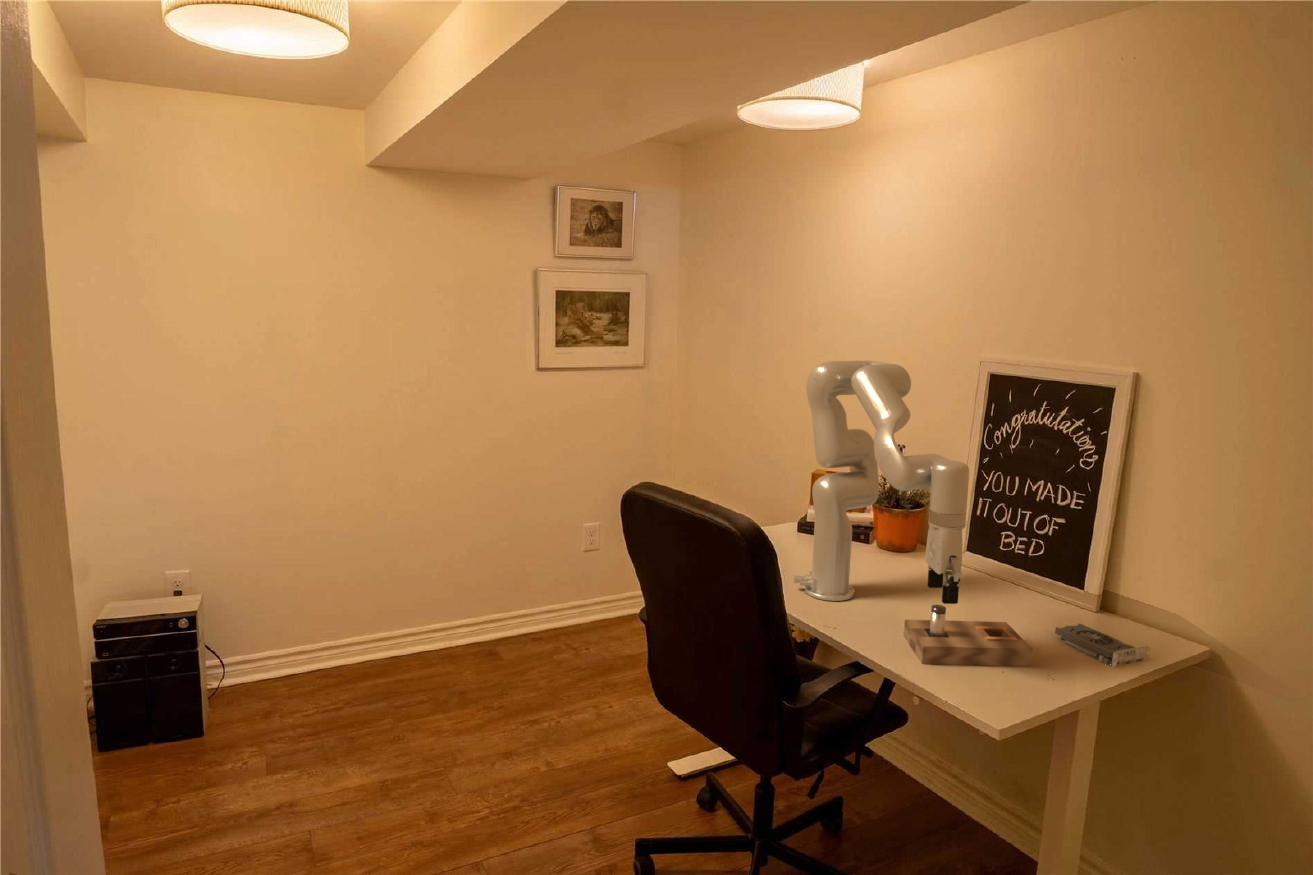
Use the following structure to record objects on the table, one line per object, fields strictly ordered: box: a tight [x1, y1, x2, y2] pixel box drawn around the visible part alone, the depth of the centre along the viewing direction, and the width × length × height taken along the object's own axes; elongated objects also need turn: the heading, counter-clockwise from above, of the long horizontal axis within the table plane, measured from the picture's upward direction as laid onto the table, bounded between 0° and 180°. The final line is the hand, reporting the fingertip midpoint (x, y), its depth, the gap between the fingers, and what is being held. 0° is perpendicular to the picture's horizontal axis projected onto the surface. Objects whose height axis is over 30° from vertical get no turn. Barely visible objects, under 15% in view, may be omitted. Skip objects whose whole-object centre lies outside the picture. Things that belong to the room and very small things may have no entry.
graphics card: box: [1054, 623, 1151, 669], centre depth 185 cm, size 17×4×12 cm
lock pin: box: [929, 604, 947, 637], centre depth 181 cm, size 3×3×10 cm
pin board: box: [903, 619, 1033, 668], centre depth 182 cm, size 23×14×4 cm, turn 89°
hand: (942, 595), depth 179 cm, fingers open, 9 cm apart
